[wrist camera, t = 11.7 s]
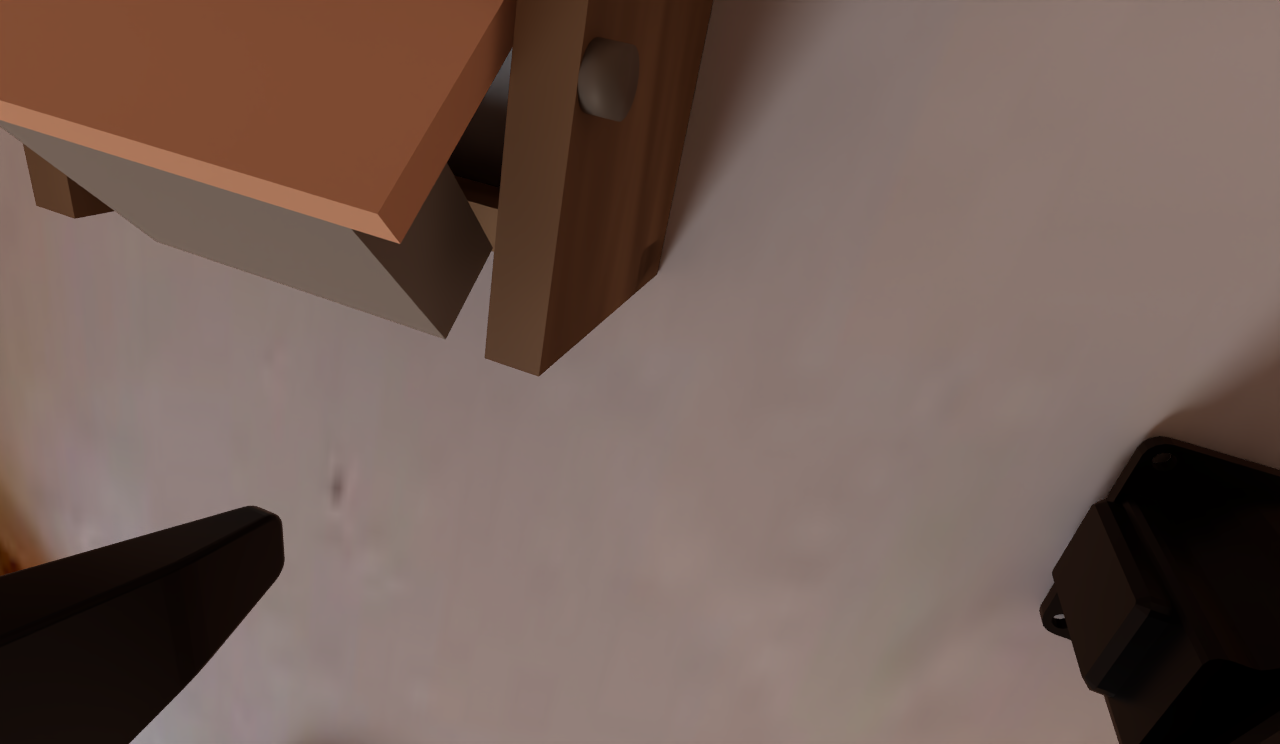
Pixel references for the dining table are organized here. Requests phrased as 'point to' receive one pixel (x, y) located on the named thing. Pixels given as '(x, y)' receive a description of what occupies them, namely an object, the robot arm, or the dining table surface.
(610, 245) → the trapdoor frame
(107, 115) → the trapdoor
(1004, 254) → the dining table surface
